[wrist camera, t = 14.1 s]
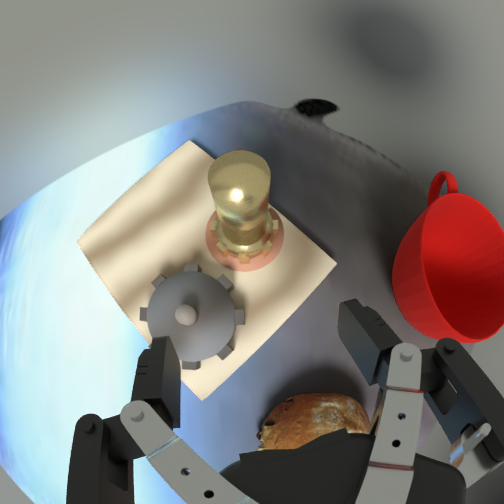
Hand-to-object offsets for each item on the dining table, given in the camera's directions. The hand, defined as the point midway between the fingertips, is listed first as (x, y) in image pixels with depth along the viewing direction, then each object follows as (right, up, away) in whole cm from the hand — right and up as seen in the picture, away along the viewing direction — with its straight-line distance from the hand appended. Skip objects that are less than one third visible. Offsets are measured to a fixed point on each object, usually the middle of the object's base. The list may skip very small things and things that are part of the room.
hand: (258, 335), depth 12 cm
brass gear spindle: (-1, +6, +14) cm, 15 cm away
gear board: (-6, +3, +15) cm, 17 cm away
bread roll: (+5, -14, +10) cm, 18 cm away
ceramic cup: (+19, +2, +15) cm, 24 cm away
